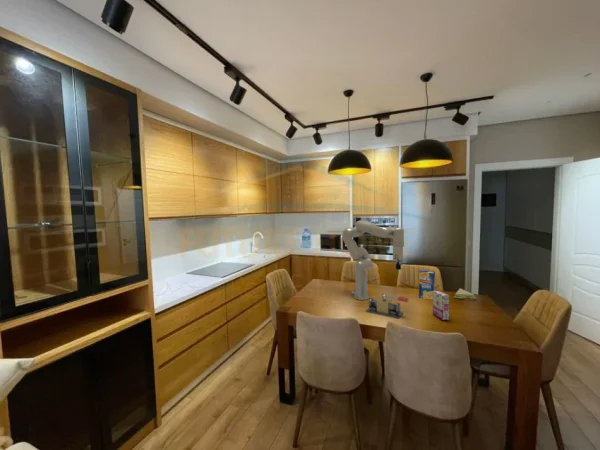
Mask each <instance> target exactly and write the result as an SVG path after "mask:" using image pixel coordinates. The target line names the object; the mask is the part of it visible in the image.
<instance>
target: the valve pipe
mask: <svg viewBox="0 0 600 450" xmlns="http://www.w3.org/2000/svg"><path fill="white" fill-rule="evenodd" d="M392 300H393V299H391V298H382V297H379V298H378V299H377V300H376V299H374V298H372V297H369V299H368V308H367V309H366V310H365V312H366V313H370V314H375V315H380V316H384V317H389V318H393V319H400V318H401V317H402V316H403V314H404V311H401V303H400V302H396V303H393V302H392Z"/></svg>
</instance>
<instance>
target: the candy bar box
mask: <svg viewBox="0 0 600 450" xmlns="http://www.w3.org/2000/svg"><path fill="white" fill-rule="evenodd" d="M450 301H451V300H450V295H449V294H447V293H445V292H443V291H440V290H435V291H433V300H432V315H434V316H436V317H437V318H439V319H440V320H442V321H450Z"/></svg>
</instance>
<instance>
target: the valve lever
mask: <svg viewBox="0 0 600 450" xmlns="http://www.w3.org/2000/svg"><path fill="white" fill-rule="evenodd" d="M381 298H386V299H392V300H397V302H404V303H408V302H409V297H404V296H393V295H389V294H386V293H381Z"/></svg>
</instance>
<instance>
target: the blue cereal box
mask: <svg viewBox="0 0 600 450" xmlns="http://www.w3.org/2000/svg"><path fill="white" fill-rule="evenodd" d="M433 291H436V271H434V270H433V271H431V270H424V269H423V270H421V269H420V270H419V271H418V298H419V299H425V300H431V301H433Z"/></svg>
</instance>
